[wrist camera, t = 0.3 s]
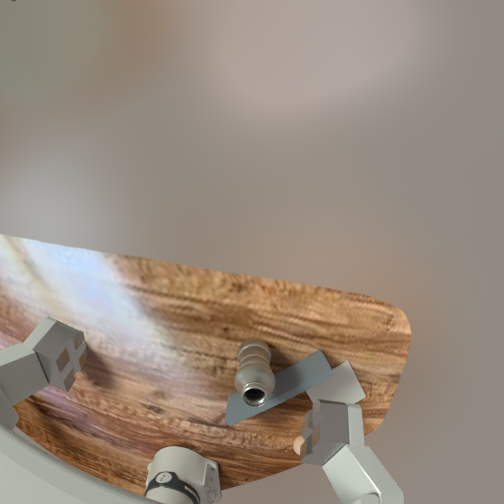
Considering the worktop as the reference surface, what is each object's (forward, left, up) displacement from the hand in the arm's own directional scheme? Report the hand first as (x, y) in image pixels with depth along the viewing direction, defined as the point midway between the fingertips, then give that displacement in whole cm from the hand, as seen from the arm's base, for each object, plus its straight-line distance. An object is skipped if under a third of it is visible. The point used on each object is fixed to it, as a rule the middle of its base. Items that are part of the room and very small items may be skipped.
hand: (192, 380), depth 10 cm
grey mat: (-33, -13, -52) cm, 63 cm away
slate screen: (-28, -2, -52) cm, 59 cm away
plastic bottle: (-19, +2, -53) cm, 56 cm away
